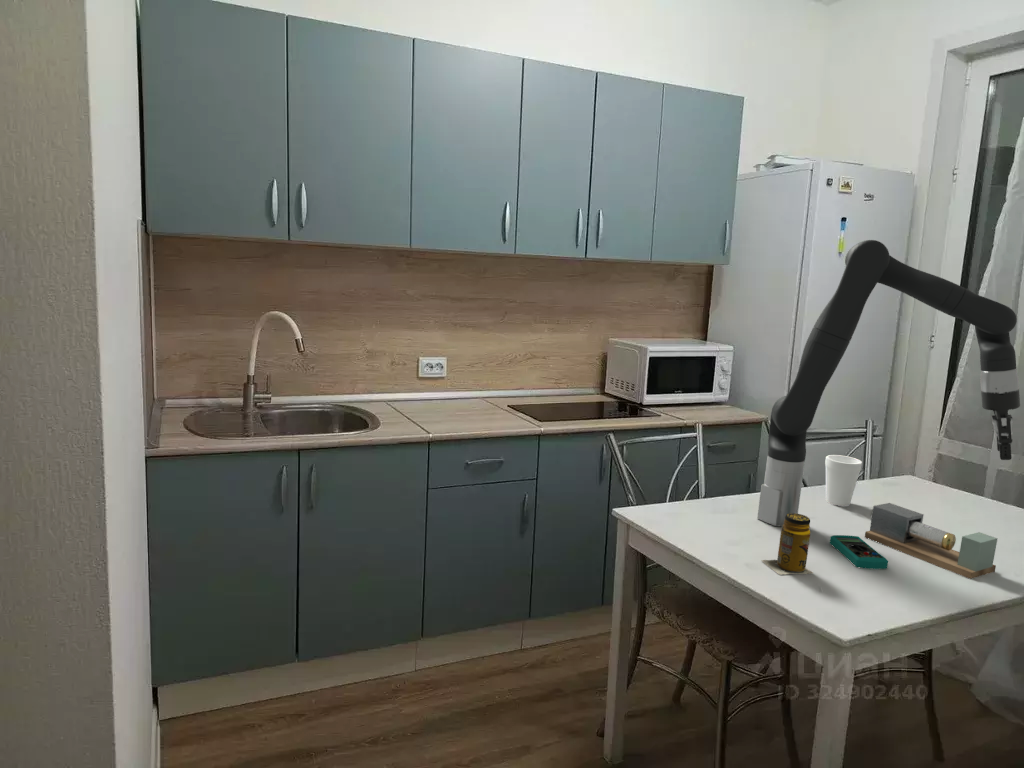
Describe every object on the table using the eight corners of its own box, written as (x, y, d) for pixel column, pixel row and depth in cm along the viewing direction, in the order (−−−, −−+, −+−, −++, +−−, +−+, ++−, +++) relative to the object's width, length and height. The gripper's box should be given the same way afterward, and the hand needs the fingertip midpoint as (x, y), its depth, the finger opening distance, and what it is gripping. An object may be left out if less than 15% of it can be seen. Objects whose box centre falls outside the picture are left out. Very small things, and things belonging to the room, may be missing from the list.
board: (970, 579, 162) (971, 572, 162) (864, 537, 184) (865, 531, 184) (994, 571, 167) (995, 565, 167) (888, 531, 189) (889, 526, 189)
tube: (944, 551, 170) (947, 535, 169) (870, 523, 186) (872, 508, 185) (954, 549, 172) (956, 533, 171) (879, 521, 188) (881, 507, 187)
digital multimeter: (856, 570, 164) (858, 558, 164) (828, 544, 179) (829, 533, 179) (889, 572, 165) (890, 559, 164) (857, 546, 179) (859, 534, 179)
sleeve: (903, 543, 177) (907, 517, 176) (869, 530, 185) (873, 505, 184) (919, 539, 180) (923, 514, 179) (885, 527, 188) (889, 502, 187)
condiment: (813, 573, 160) (821, 521, 158) (779, 575, 158) (786, 522, 156) (794, 560, 167) (800, 510, 165) (760, 561, 165) (767, 511, 163)
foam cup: (813, 497, 214) (819, 455, 212) (840, 497, 217) (846, 454, 214) (834, 508, 205) (841, 464, 203) (862, 507, 208) (869, 464, 205)
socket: (975, 571, 163) (980, 542, 161) (957, 564, 166) (962, 536, 165) (992, 566, 166) (997, 538, 165) (974, 559, 170) (979, 532, 168)
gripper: (979, 384, 181) (984, 448, 182) (982, 394, 168) (987, 462, 170) (1016, 382, 177) (1020, 448, 178) (1022, 392, 165) (1026, 462, 166)
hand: (1004, 455), depth 174 cm, fingers open, 8 cm apart
